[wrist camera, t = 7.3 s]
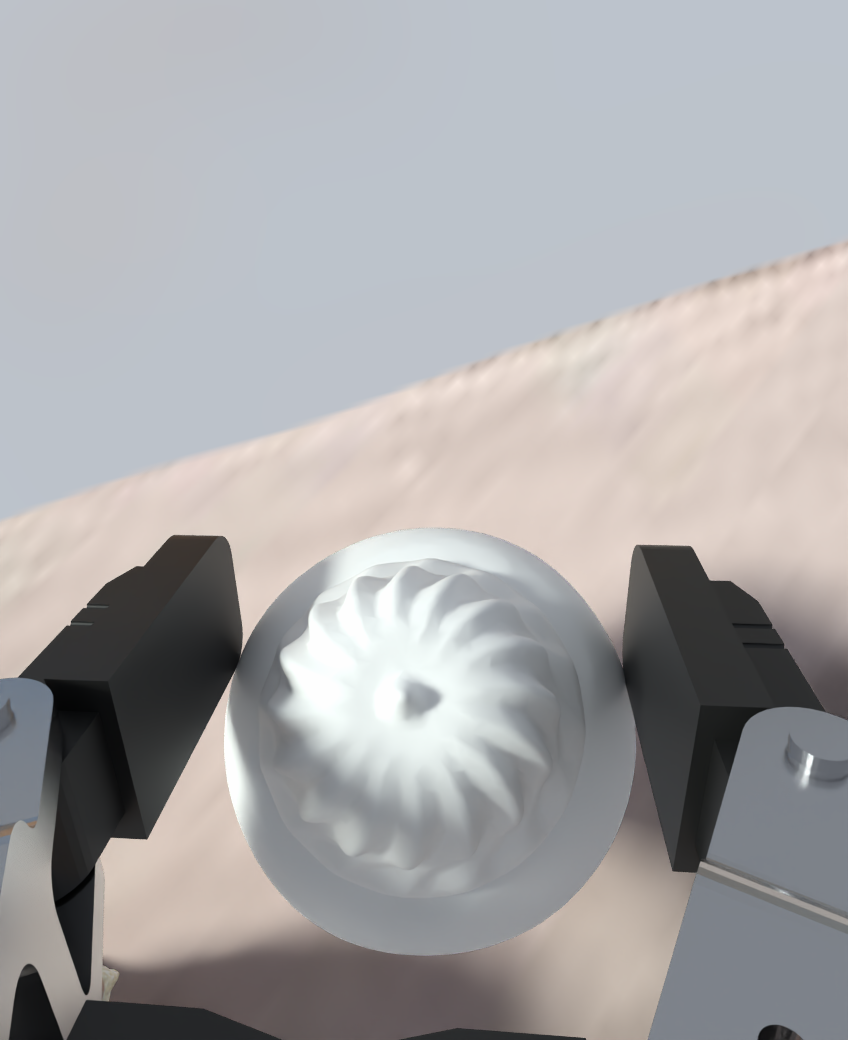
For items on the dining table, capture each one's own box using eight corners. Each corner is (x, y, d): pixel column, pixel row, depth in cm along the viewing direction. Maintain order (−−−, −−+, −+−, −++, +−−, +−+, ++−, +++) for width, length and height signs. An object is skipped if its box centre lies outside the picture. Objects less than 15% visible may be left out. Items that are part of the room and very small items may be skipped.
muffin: (504, 991, 13) (524, 1195, 6) (222, 801, 14) (2, 809, 8) (654, 677, 15) (793, 581, 8) (387, 535, 16) (319, 355, 9)
